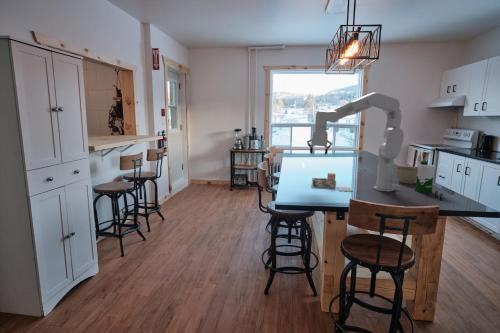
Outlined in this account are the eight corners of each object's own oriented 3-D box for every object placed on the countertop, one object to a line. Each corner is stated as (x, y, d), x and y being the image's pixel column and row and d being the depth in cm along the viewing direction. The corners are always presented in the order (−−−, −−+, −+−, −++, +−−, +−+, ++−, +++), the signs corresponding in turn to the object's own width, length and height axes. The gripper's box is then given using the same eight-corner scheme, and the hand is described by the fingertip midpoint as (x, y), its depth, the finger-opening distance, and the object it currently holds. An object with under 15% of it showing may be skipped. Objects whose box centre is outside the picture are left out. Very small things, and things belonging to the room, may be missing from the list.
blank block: (333, 185, 208) (334, 173, 207) (334, 187, 204) (335, 174, 202) (327, 185, 209) (327, 172, 207) (328, 186, 204) (328, 174, 203)
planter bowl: (418, 186, 209) (419, 171, 207) (393, 182, 218) (394, 168, 216) (419, 181, 222) (421, 167, 220) (396, 179, 231) (397, 165, 229)
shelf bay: (333, 184, 210) (333, 178, 209) (335, 187, 202) (336, 181, 201) (312, 183, 211) (312, 177, 211) (313, 186, 203) (313, 180, 202)
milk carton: (423, 189, 200) (426, 160, 196) (434, 192, 192) (438, 162, 188) (412, 190, 198) (416, 161, 194) (423, 193, 189) (427, 163, 186)
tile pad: (349, 188, 201) (349, 187, 200) (353, 191, 192) (353, 190, 192) (336, 187, 201) (336, 186, 201) (339, 191, 193) (339, 190, 193)
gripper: (334, 129, 199) (331, 154, 202) (308, 128, 205) (306, 152, 208) (333, 130, 192) (330, 156, 195) (306, 128, 198) (304, 153, 201)
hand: (318, 154), depth 202 cm, fingers open, 9 cm apart
